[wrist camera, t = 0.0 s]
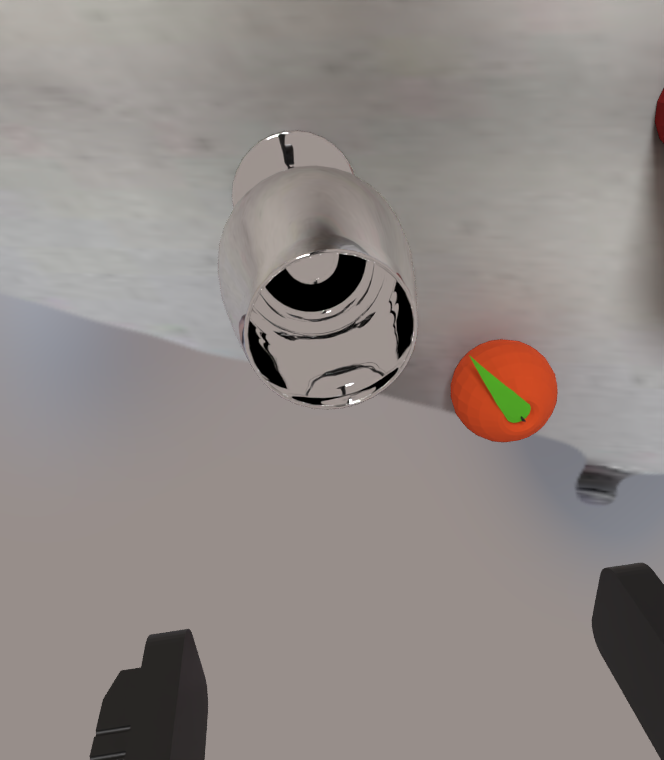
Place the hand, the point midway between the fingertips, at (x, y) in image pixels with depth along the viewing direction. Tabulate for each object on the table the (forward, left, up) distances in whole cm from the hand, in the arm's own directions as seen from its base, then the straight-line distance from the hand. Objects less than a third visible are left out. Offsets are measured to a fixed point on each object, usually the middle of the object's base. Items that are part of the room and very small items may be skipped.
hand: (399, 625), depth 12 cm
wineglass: (-2, 0, -30) cm, 30 cm away
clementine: (+11, +12, -30) cm, 34 cm away
